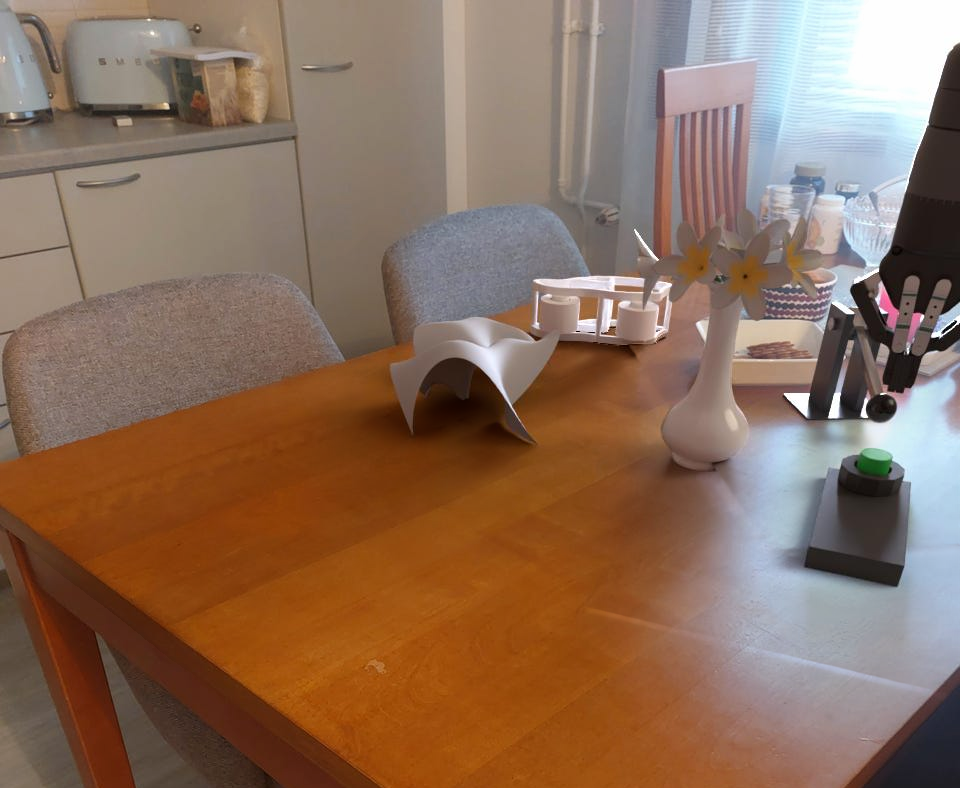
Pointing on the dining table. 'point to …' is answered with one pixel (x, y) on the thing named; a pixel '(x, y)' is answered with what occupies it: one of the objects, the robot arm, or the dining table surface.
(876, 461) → the green button
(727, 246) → the flower vase
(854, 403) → the lever bracket
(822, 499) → the dark box
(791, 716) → the dining table surface
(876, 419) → the switch lever
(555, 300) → the car outline toy
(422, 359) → the sculpture
